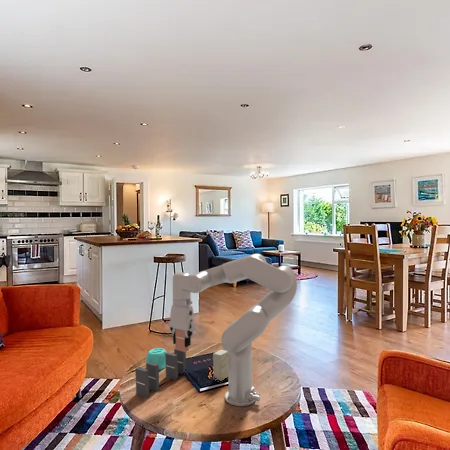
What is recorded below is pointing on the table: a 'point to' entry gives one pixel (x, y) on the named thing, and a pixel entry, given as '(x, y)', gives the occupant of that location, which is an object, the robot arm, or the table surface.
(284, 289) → the robot arm
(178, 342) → the domino
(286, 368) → the table surface
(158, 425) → the table surface
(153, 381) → the domino
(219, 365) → the skincare box
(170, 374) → the domino
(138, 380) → the domino
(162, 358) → the decorative dice
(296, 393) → the table surface
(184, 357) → the domino
